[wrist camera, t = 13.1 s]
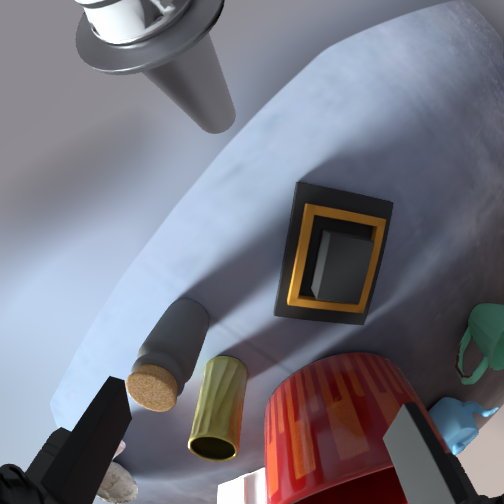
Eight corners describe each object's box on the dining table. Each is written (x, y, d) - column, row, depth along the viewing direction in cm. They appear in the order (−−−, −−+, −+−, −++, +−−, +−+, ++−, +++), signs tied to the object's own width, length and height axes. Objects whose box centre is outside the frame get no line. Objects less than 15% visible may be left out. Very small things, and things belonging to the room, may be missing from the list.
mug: (487, 277, 33) (526, 298, 23) (499, 312, 34) (532, 335, 25) (429, 341, 35) (461, 376, 26) (446, 370, 37) (474, 402, 27)
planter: (252, 442, 41) (248, 539, 21) (282, 339, 35) (298, 468, 16) (369, 444, 41) (396, 523, 21) (423, 349, 36) (490, 433, 16)
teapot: (481, 384, 38) (507, 414, 27) (424, 442, 42) (442, 476, 31) (460, 368, 37) (491, 403, 26) (395, 434, 41) (414, 475, 29)
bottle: (216, 331, 35) (194, 412, 21) (178, 342, 36) (141, 418, 21) (198, 292, 34) (161, 361, 20) (159, 305, 35) (108, 371, 20)
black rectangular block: (321, 227, 31) (330, 233, 27) (361, 235, 31) (374, 241, 27) (309, 286, 32) (316, 299, 29) (348, 291, 33) (359, 304, 29)
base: (296, 181, 31) (299, 181, 29) (389, 201, 31) (398, 203, 29) (273, 312, 35) (274, 320, 32) (361, 321, 35) (366, 329, 32)
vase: (250, 386, 37) (246, 463, 24) (209, 388, 38) (192, 463, 24) (244, 353, 36) (237, 432, 22) (200, 356, 36) (176, 431, 23)
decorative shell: (77, 433, 44) (59, 461, 34) (146, 467, 45) (135, 499, 35) (80, 462, 48) (67, 485, 38) (138, 490, 49) (129, 516, 39)
